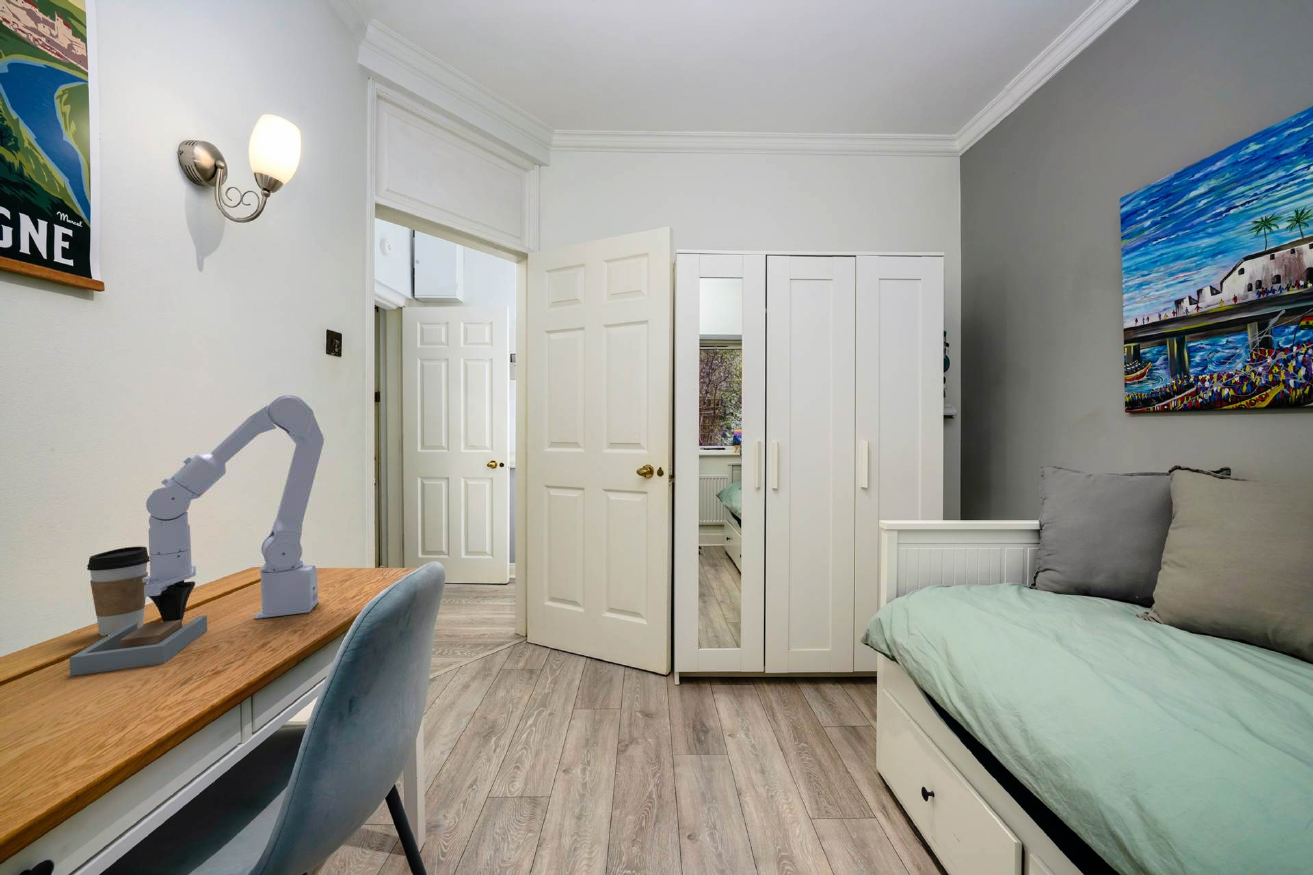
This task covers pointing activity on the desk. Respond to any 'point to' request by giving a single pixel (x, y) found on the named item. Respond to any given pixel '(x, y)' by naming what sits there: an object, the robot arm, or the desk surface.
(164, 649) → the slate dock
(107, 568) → the coffee cup
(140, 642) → the walnut block
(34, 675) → the desk surface
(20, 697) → the desk surface
